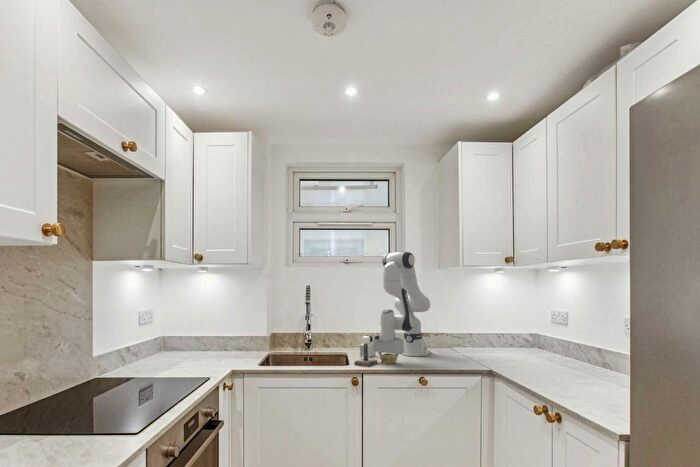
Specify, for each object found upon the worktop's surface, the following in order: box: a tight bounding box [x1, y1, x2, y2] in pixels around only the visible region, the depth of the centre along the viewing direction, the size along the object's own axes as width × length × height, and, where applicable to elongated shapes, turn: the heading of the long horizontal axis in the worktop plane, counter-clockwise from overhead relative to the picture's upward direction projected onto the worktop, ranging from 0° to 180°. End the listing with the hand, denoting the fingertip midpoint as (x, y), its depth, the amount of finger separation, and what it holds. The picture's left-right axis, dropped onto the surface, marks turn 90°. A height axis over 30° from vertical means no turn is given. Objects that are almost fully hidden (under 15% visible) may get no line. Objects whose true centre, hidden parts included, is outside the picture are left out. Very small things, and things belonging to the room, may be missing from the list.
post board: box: [353, 343, 378, 367], centre depth 245 cm, size 10×10×12 cm
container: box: [359, 335, 377, 358], centre depth 270 cm, size 8×8×13 cm
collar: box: [380, 352, 397, 365], centre depth 248 cm, size 6×6×5 cm
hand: (388, 360), depth 248 cm, fingers open, 8 cm apart
